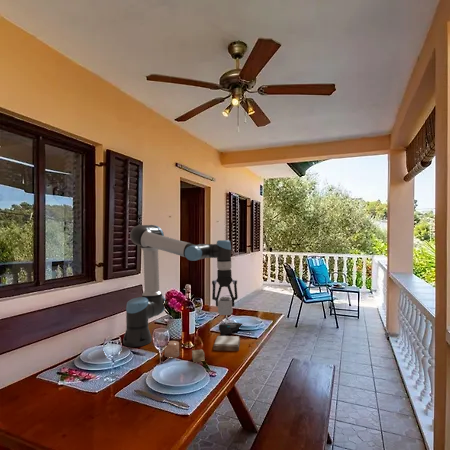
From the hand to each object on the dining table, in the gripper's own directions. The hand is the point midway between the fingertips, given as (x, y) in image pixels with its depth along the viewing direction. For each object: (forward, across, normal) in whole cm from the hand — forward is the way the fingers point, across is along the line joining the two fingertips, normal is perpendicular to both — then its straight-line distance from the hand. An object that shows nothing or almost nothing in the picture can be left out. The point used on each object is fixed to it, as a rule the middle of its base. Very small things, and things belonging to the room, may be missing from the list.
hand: (225, 312), depth 165 cm
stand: (+18, +1, 0) cm, 18 cm away
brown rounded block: (+17, -26, -14) cm, 34 cm away
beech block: (+18, -12, -18) cm, 28 cm away
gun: (+18, +1, +20) cm, 27 cm away
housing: (0, 0, 0) cm, 0 cm away
